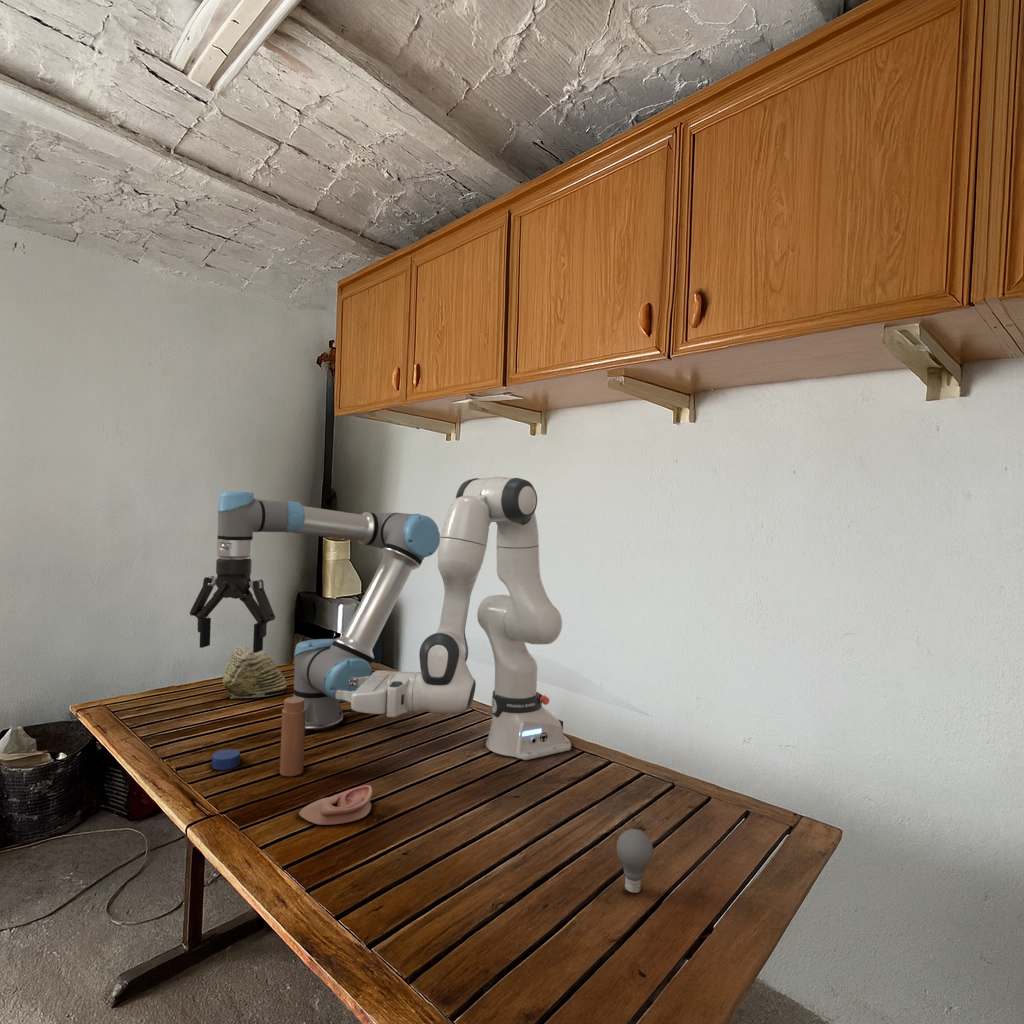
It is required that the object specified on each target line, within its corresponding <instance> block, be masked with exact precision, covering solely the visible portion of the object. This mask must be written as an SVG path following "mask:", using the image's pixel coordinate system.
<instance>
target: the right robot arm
mask: <svg viewBox="0 0 1024 1024" xmlns="http://www.w3.org/2000/svg"><path fill="white" fill-rule="evenodd" d="M537 506H538V494H537V491H536V489H535V488H534V486H533V483H531V482H530V481H529V480H526V479H524V478H521V477H506V476H492V477H483V478H479V477H476V478H470V479H467V480H466V481H465V480H464V481H463V482H462V484H460V486H459V487H458V490H457V491H456V495H455V499H454V500H453V501H451V503H450V506H449V508H448V511H447V514H446V516H445V519H444V522H443V525H442V528H441V533H440V542H439V546H438V548H437V550H438V551H437V568H438V571H439V574H440V576H441V579H442V583H443V588H444V593H443V594H444V596H443V603H442V608H441V614H440V619H439V625H438V628H437V631H436V632H435V633H432V634H430V635H429V636H427V637H426V638H425V639H424V640H423V642H422V643H421V645H420V648H419V652H418V653H419V654H418V656H419V657H418V658H419V666H420V671H405V670H398V671H391V670H382V669H381V670H380V669H379V670H375V671H373V672H372V675H371V676H365V677H359V678H354V677H352V678H351V679H350V680H349V686H350V687H357V686H360V687H359V688H358V689H357V690H356V691H351V692H350V691H346V690H344V689H342V690H341V689H339V690H338V691H336V699H343V700H345V701H348V702H347V703H350V710H354V711H356V712H355V713H361V714H371V715H385V714H386V718H396V717H398V716H401V715H402V714H407V713H420V712H426V713H430V714H433V715H459V714H463V713H465V712H466V711H468V710H469V709H470V707H471V706H472V705H473V704H472V703H473V700H474V698H475V692H476V686H477V683H476V679H475V678H474V677H473V674H472V673H471V671H470V669H469V667H468V665H467V661H468V659H469V658H468V657H469V646H468V641H467V637H466V626H467V619H468V613H469V607H470V601H471V596H472V593H473V590H474V587H475V585H476V582H477V580H478V576H479V574H480V571H481V569H482V566H483V563H484V558H485V555H486V551H487V547H488V541H489V533H490V532H489V531H490V526H491V524H492V523H495V524H496V526H497V528H496V529H497V530H496V574H497V577H498V580H500V582H501V583H503V585H504V586H505V587H506V589H507V591H508V593H509V595H508V594H493V595H488V596H486V597H484V599H482V601H481V602H480V603H479V605H478V608H477V612H476V614H477V615H476V616H477V623H478V625H479V626H480V627H481V629H482V630H483V631H484V633H485V635H486V636H487V639H488V641H489V644H490V648H491V651H492V655H493V661H494V689H493V691H492V698H491V714H492V715H491V722H490V726H489V727H490V728H489V731H488V735H487V739H486V741H485V747H486V748H487V749H488V750H489V751H491V752H492V753H494V754H498V755H502V756H506V757H512V758H513V757H514V758H517V759H520V760H523V761H528V760H529V761H530V760H533V759H539V758H542V757H546V756H550V755H555V754H559V753H565V752H568V751H571V750H572V742H571V741H570V739H569V738H568V737H567V736H565V735H564V721H563V720H561V719H559V718H557V717H556V716H555V715H554V714H552V713H551V712H550V711H549V710H548V709H546V708H545V707H544V706H547V705H549V703H550V702H551V701H550V698H549V697H548V696H546V695H544V694H542V693H540V692H538V691H537V690H538V689H537V687H538V664H537V660H536V659H535V658H534V657H533V655H532V654H531V652H529V650H528V647H527V645H526V644H530V645H551V644H553V643H554V642H555V641H557V639H558V638H559V636H561V635H560V634H561V633H562V630H563V618H562V617H563V616H562V614H561V612H560V610H559V609H558V608H557V607H556V606H555V605H554V604H553V602H552V601H551V599H550V598H549V596H548V594H547V592H546V589H545V587H544V584H543V580H542V577H541V568H540V567H541V566H540V564H541V563H540V537H539V535H540V534H539V525H538V520H537V516H536V510H537Z"/></svg>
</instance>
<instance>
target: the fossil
mask: <svg viewBox="0 0 1024 1024" xmlns="http://www.w3.org/2000/svg"><path fill="white" fill-rule="evenodd" d="M222 676H223V677H222V685H223V687H224V688H225V690H226V691H228V693H229V698H230V699H250V698H264V697H271V696H275V695H281V694H284V693H285V691H286V689H287V687H288V686H287V680H286V678H285V676H284V674H283V673H282V672H281V669H279V668H278V667H277V665H276V663H275V662H274V660H273V659H272V658H271V657H270V656H269V655H268V654H267V653H266V652H265V650H264V649H263V650H262V651H259V652H257V653H253V648H251V647H247V646H246V647H245V646H238V647H237V648H236V649H235V650H233V651H232V653H231V656H230V657H229V659H228V660H227V663H226V666H225V668H224V671H223V675H222Z"/></svg>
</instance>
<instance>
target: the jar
mask: <svg viewBox="0 0 1024 1024" xmlns="http://www.w3.org/2000/svg"><path fill="white" fill-rule="evenodd" d="M305 716H306V708H305V707H304V698H302V697H293V696H290V697H286V698H285V699H284V700H283V708H282V709H281V721H280V723H281V724H280V747H279V748H280V750H279V774H280V775H281V776H283V777H296V776H299V775H300V774H303V772H304V769H305V768H304V764H305V741H306V740H305V737H306V732H305Z"/></svg>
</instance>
